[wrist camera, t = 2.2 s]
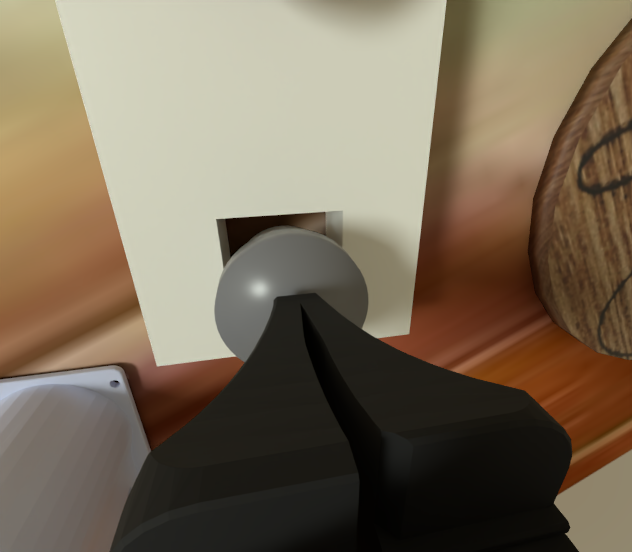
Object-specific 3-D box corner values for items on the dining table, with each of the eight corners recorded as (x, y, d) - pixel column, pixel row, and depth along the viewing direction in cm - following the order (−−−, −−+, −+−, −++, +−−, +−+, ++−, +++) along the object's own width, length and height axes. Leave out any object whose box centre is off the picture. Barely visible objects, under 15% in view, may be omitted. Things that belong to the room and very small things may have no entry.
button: (342, 315, 16) (365, 362, 13) (230, 328, 15) (225, 382, 12) (344, 207, 14) (371, 231, 11) (213, 215, 13) (202, 244, 10)
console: (384, 300, 20) (409, 333, 17) (173, 324, 18) (156, 366, 15) (420, -206, 12) (483, -329, 8) (34, -257, 10) (-67, -437, 7)
